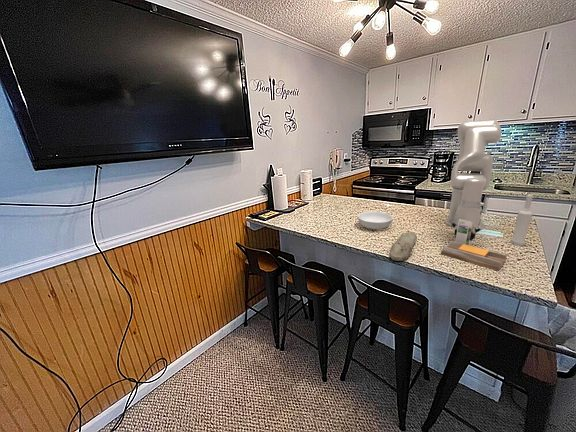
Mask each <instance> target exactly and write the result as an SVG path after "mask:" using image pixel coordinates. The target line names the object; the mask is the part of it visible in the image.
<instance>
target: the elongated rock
mask: <svg viewBox="0 0 576 432" xmlns="http://www.w3.org/2000/svg"><path fill="white" fill-rule="evenodd" d="M416 241H417V234H416V233H415V232H413V231H407V232H403V233H402V234H401V235H400V236H399V237H398V238H397V240H395V242H394V243H392V245H391V248H390V251H389V257H390V259H391V260H392V261H396V262H397V261H399V262H403V261H404V260H407V259H408V258H409V257H410V255H411V253H412V251H413V249H414V246H415V245H416Z"/></svg>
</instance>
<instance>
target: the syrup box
mask: <svg viewBox="0 0 576 432" xmlns="http://www.w3.org/2000/svg"><path fill="white" fill-rule="evenodd" d="M471 233H472V221H467V220H462V219H459V222H458V228H457V234H456V237H455V240H454V242H458V243H462V244H466V245H470V246H472V245H471V244H472V241H470V235H471Z"/></svg>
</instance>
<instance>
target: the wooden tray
mask: <svg viewBox="0 0 576 432" xmlns="http://www.w3.org/2000/svg"><path fill="white" fill-rule="evenodd" d="M462 245H463V244H462V243H458V242H455V240H454V241H453V240H448V245H447V246H445V245H443V246H442V250H441V251H440V255H442V256H446V257H450V258H453V259H457V260H459V261H463V262H467V263H469V264H473V265H477V266H481V267H484V268H487V269H490V270H494V271H497V272H499V271H500V270H501V269H502V267H503V266H504V264H505V263H506V261H507V255H508V254H506V253H505V254H504V253H501V252H497V251H493V250H489V253H488V254H487V255H486V256H485V257H482V256H479V255H475V254H471V253H468V252H464V251H460V250H458V248H460V247H461V246H462ZM465 245H466V244H465ZM469 246H471V245H469ZM472 246H473V245H472ZM473 247H475V246H473Z"/></svg>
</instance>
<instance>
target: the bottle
mask: <svg viewBox="0 0 576 432" xmlns="http://www.w3.org/2000/svg"><path fill="white" fill-rule="evenodd" d="M533 198H534V195H533V194H531V195H530V194H528V195H526V199H525V201H524V202H525V203H524V206H523V208H522V209H520V210H519V211H518V212H517V217H516V221H515V225H514V230H513V234H512V238H511V239H510V243H511V244H512V245H514V246H525V244H526V237H527V234H528V231H529V228H530V224H531V221H532V218H533V215H534V213H533V212H532V211H531V209H530V208H531V204H532V202H533V201H532V200H533Z"/></svg>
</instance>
